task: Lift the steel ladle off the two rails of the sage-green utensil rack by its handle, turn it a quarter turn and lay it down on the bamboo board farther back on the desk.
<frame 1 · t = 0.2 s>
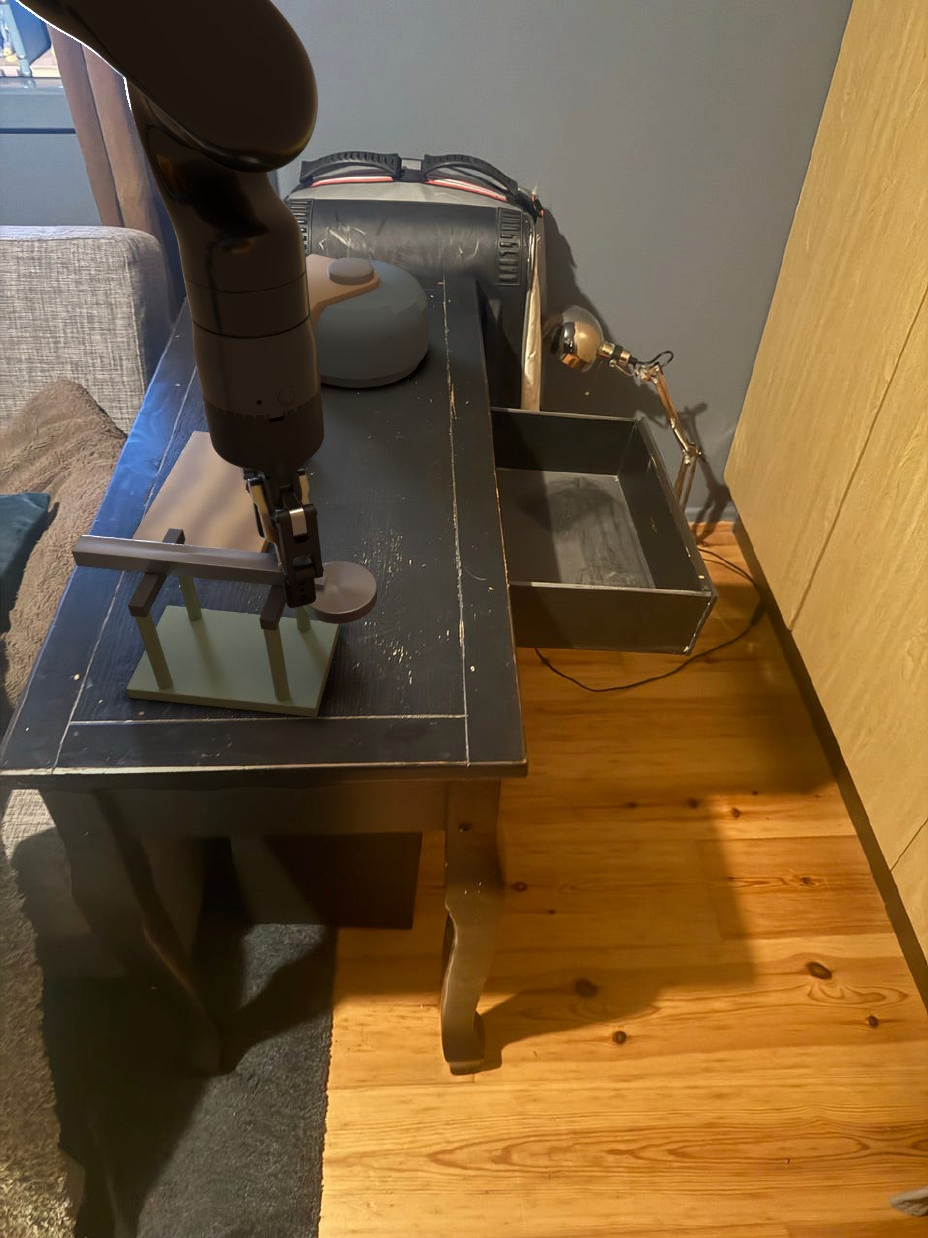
hand: (286, 566, 64), 12 cm above the table, tool pointing down, fingers open, 8 cm apart
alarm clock: (354, 356, 111), on the table
rack: (239, 663, 72), on the table
ladle: (194, 569, 64), point 11 cm above the table, touching rack
board: (223, 502, 88), on the table
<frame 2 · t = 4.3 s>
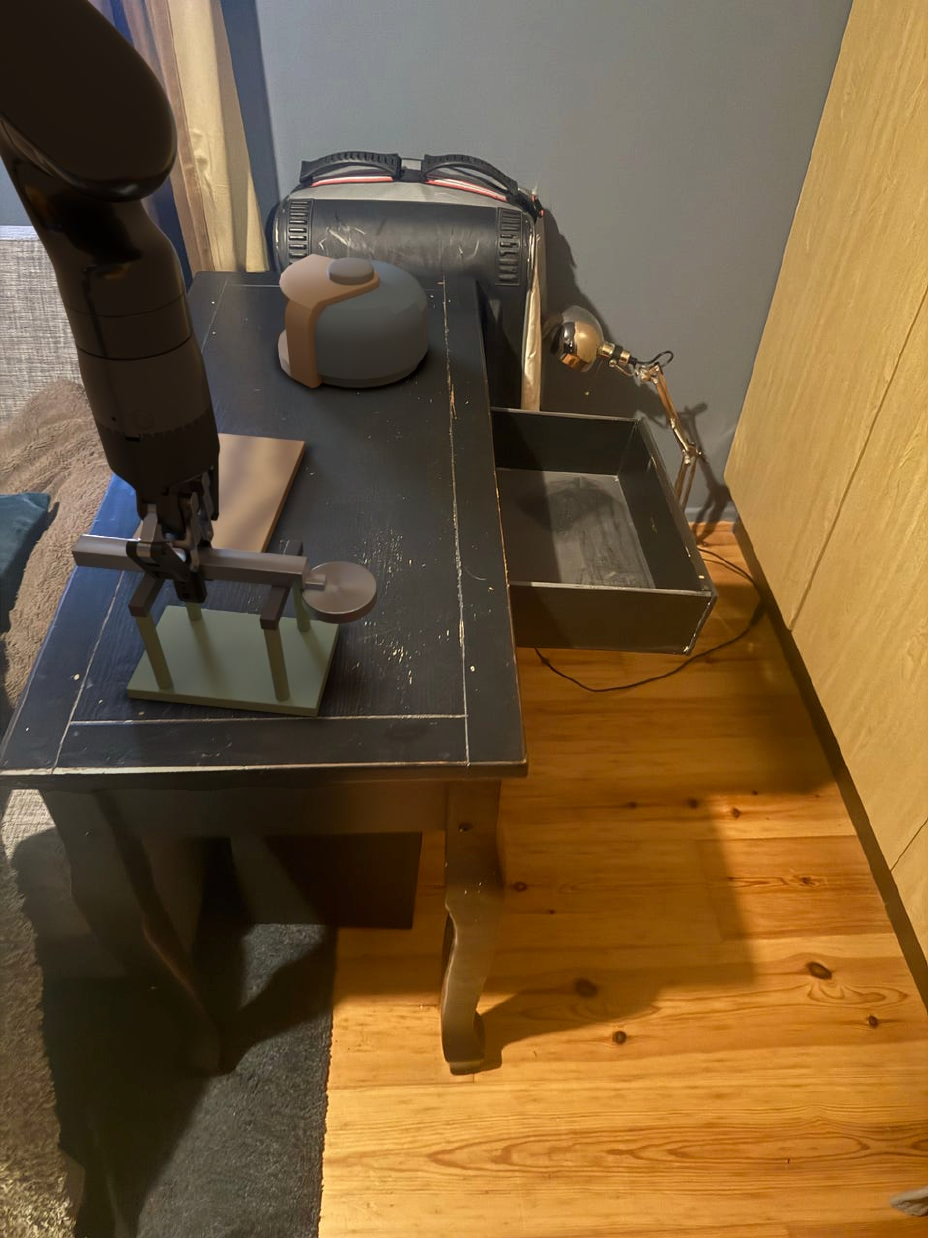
hand: (198, 587, 66), 9 cm above the table, tool pointing down, fingers closed on ladle, 2 cm apart
ladle: (193, 569, 64), point 11 cm above the table, touching gripper, rack
everything else where it was.
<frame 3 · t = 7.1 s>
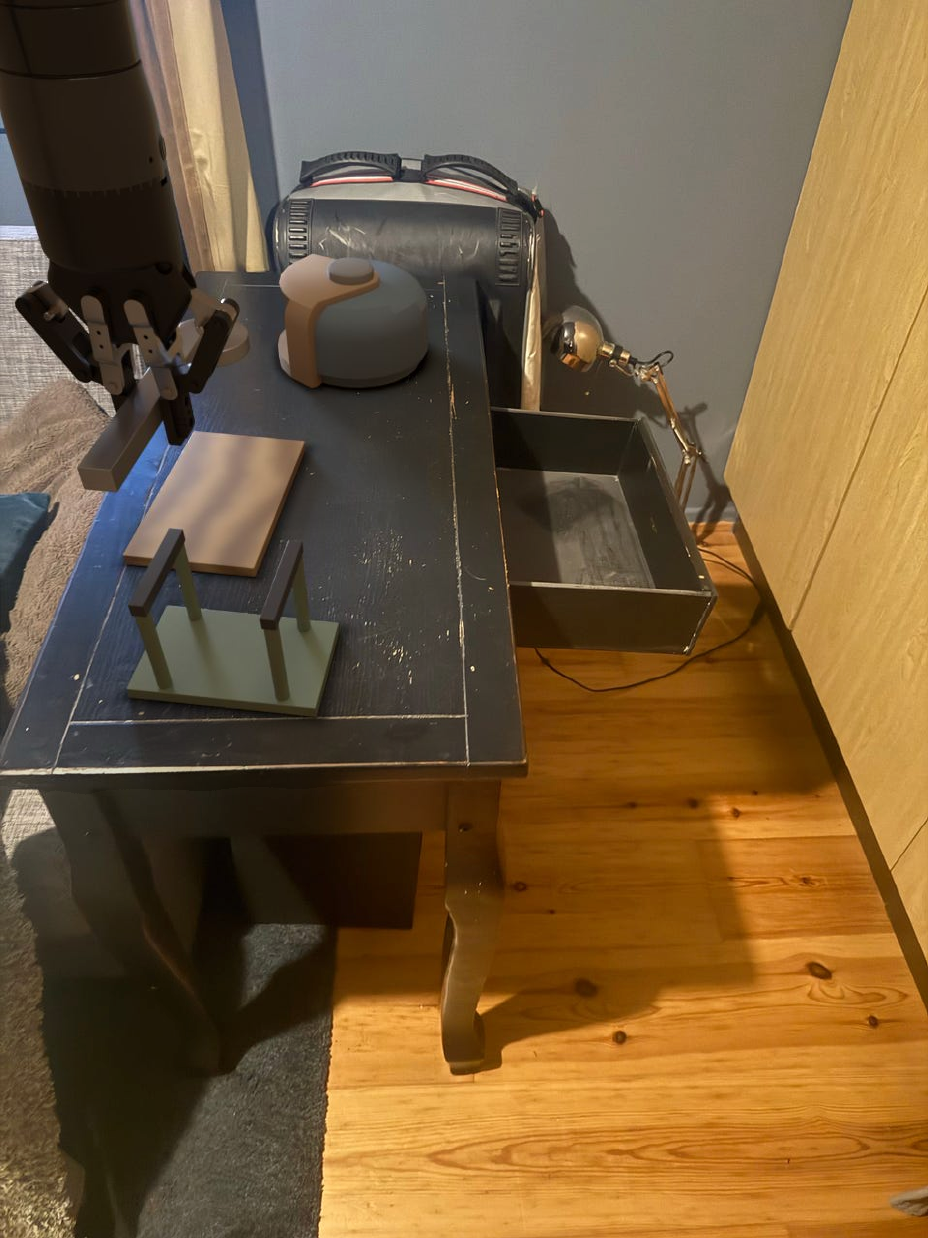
hand: (161, 436, 56), 23 cm above the table, tool pointing down, fingers closed on ladle
ladle: (154, 410, 55), point 25 cm above the table, touching gripper
everything else where it was.
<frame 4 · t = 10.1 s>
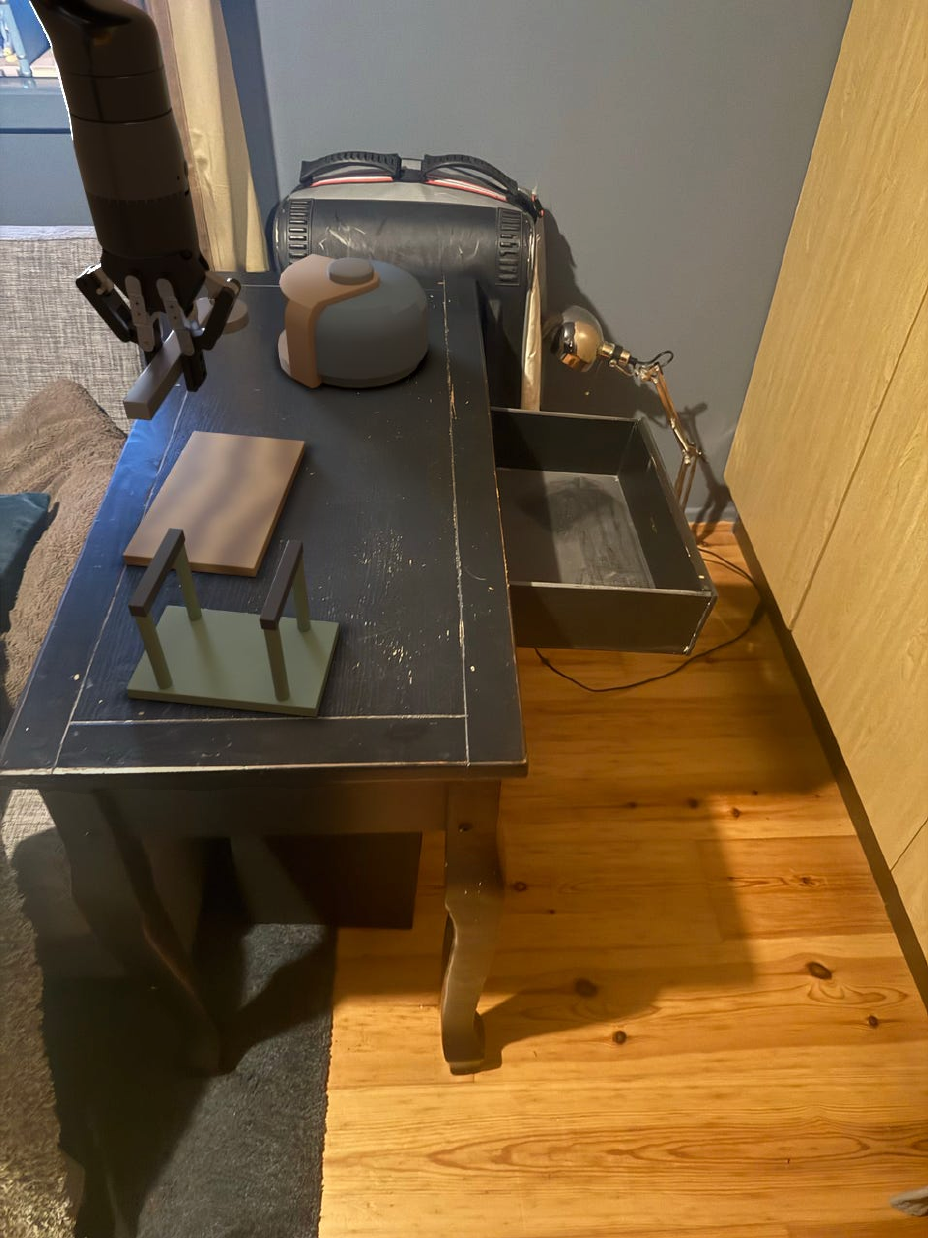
hand: (181, 385, 73), 16 cm above the table, tool pointing down, fingers closed on ladle
ladle: (176, 364, 72), point 18 cm above the table, touching gripper
everything else where it was.
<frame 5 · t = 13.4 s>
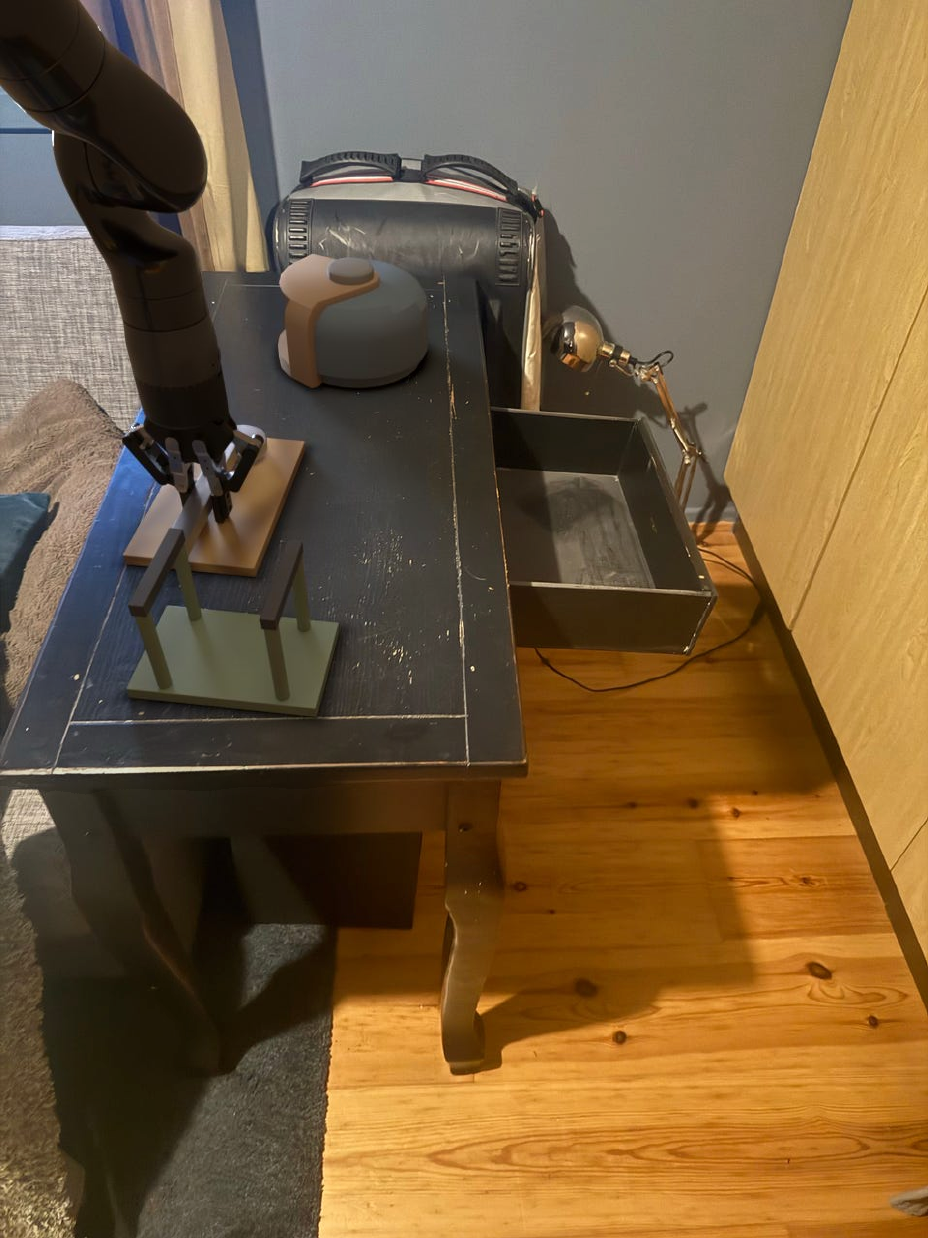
hand: (210, 516, 84), 1 cm above the table, tool pointing down, fingers closed, pressing on board, ladle
ladle: (206, 500, 83), point 3 cm above the table, touching gripper
everything else where it was.
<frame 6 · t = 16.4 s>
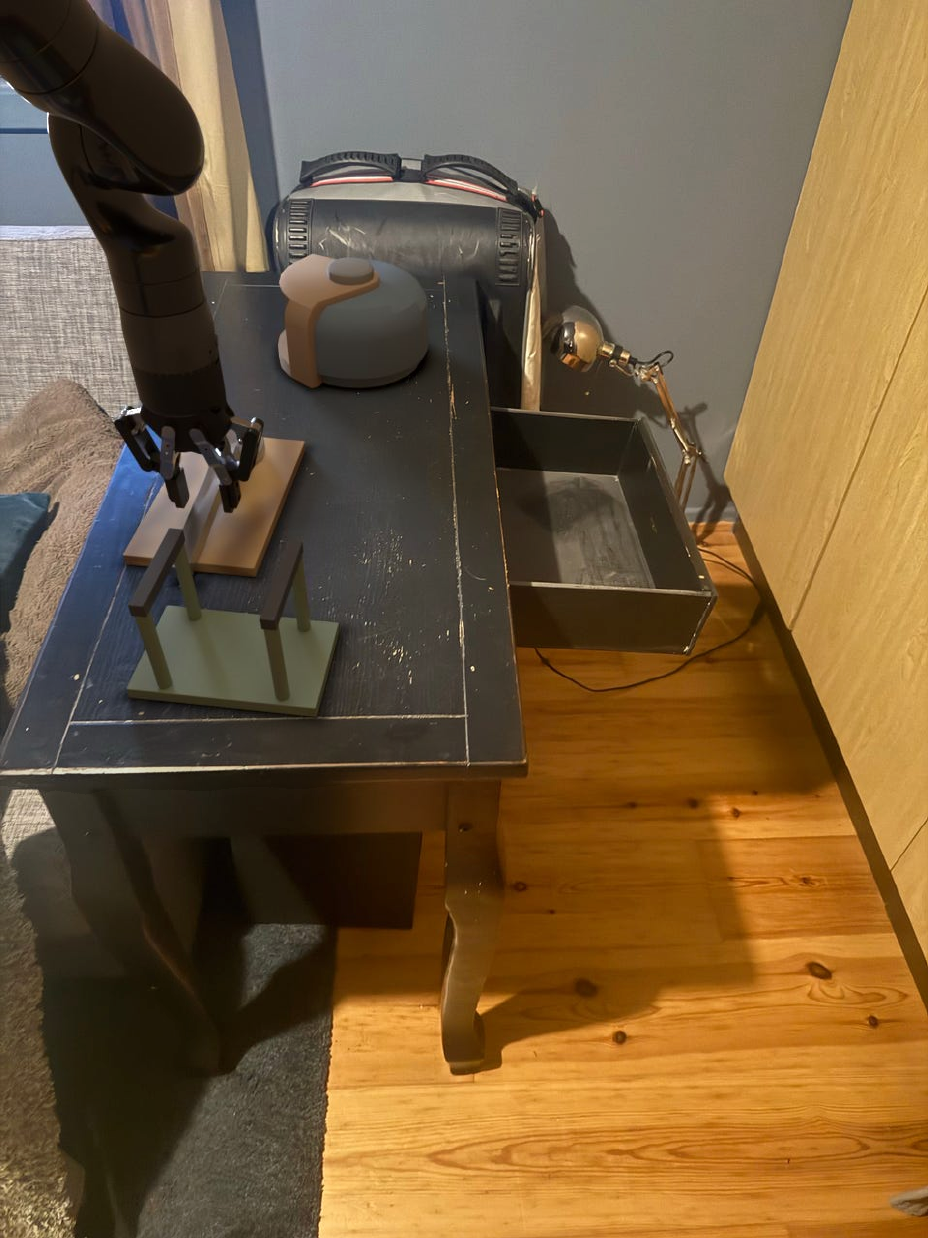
hand: (207, 505, 83), 3 cm above the table, tool pointing down, fingers open, 4 cm apart
ladle: (207, 513, 84), point 2 cm above the table, tilted 6°, touching board
everything else where it was.
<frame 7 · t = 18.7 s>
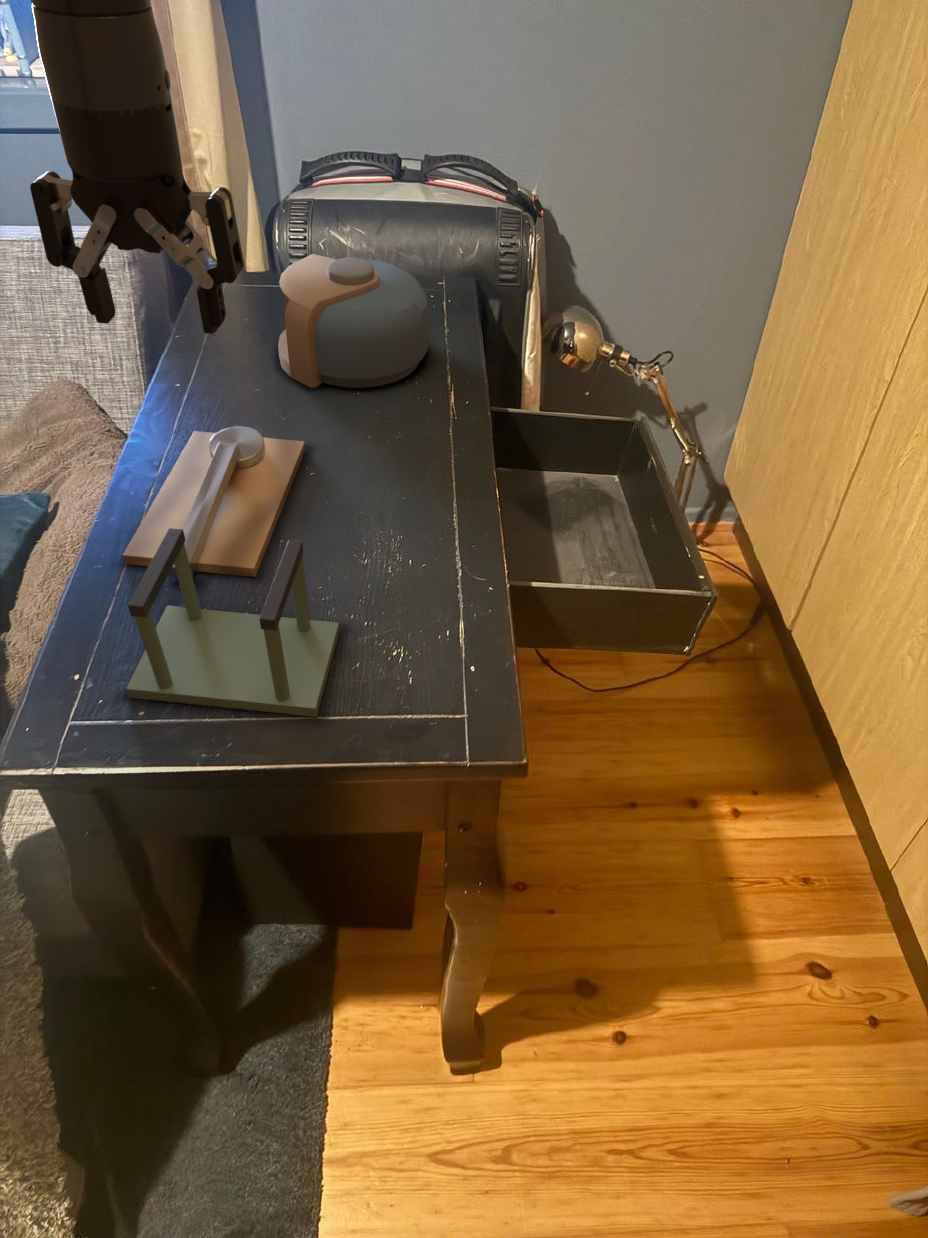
hand: (160, 324, 66), 24 cm above the table, tool pointing down, fingers open, 8 cm apart
nothing on the table moved.
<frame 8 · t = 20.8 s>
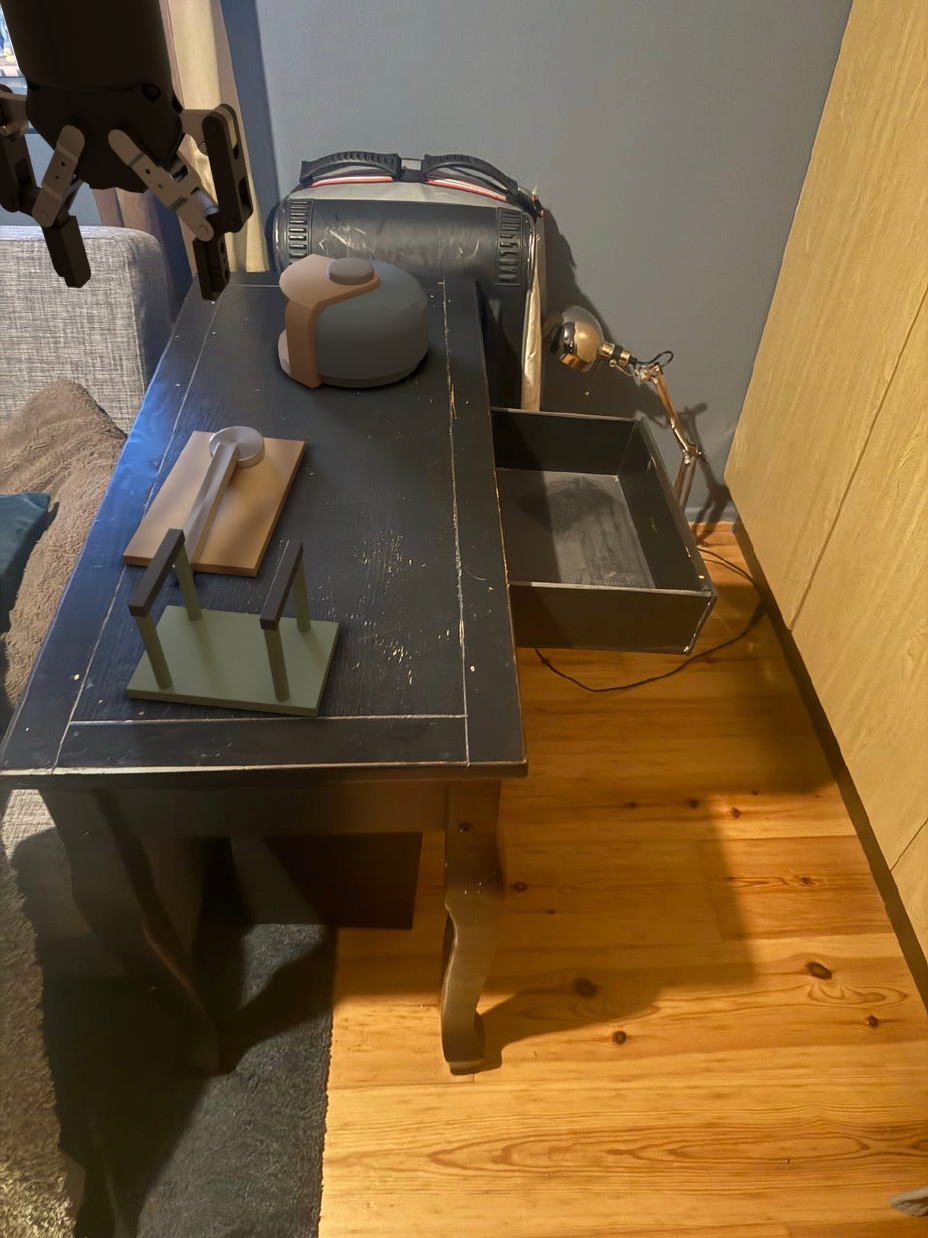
hand: (147, 289, 51), 32 cm above the table, tool pointing down, fingers open, 8 cm apart
nothing on the table moved.
at the end: ladle inside the target area on the board (3.2 cm from its centre), point 1.9 cm above the board's base; ladle touching board; the gripper is holding nothing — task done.
